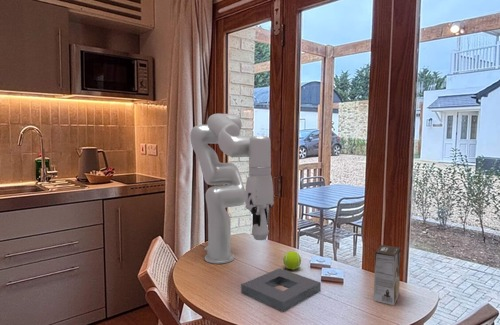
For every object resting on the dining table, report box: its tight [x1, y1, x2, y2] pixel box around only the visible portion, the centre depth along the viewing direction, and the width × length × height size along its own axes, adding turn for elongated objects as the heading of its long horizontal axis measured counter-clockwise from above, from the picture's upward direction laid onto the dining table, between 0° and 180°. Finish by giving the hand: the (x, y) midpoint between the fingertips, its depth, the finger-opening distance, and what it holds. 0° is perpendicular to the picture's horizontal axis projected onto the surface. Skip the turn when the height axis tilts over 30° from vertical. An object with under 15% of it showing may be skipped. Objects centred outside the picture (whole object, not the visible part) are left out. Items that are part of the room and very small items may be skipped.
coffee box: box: [373, 244, 402, 306], centre depth 111 cm, size 9×6×16 cm
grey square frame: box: [240, 268, 322, 313], centre depth 115 cm, size 18×20×3 cm
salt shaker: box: [251, 204, 270, 241], centre depth 119 cm, size 6×6×13 cm
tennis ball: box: [282, 250, 302, 271], centre depth 136 cm, size 7×7×7 cm
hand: (260, 224), depth 119 cm, fingers closed on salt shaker, 3 cm apart
